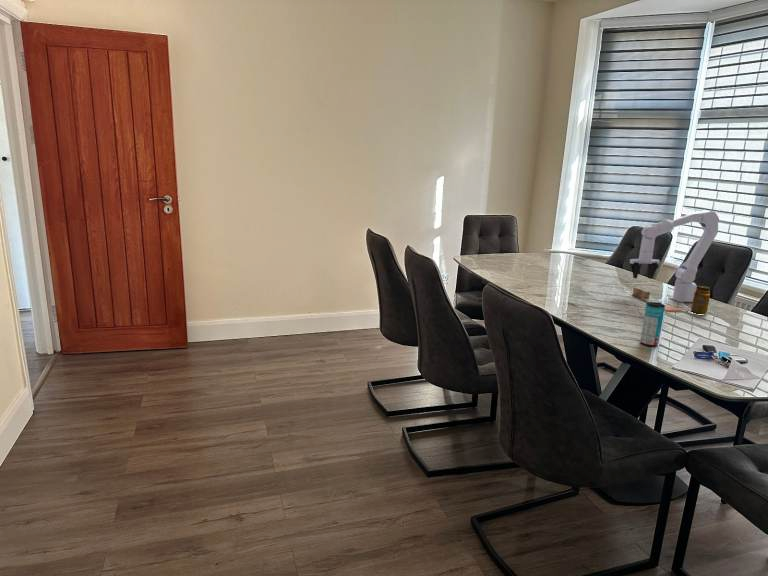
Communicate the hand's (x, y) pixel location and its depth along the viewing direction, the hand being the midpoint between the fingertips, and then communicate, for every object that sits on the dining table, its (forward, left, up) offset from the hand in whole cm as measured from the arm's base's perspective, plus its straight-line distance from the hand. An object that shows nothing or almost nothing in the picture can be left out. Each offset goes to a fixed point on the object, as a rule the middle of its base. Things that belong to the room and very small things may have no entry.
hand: (642, 278), depth 258 cm
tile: (0, +18, -9) cm, 21 cm away
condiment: (-10, +28, -10) cm, 31 cm away
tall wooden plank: (0, +5, -10) cm, 11 cm away
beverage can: (+40, +68, -10) cm, 79 cm away
